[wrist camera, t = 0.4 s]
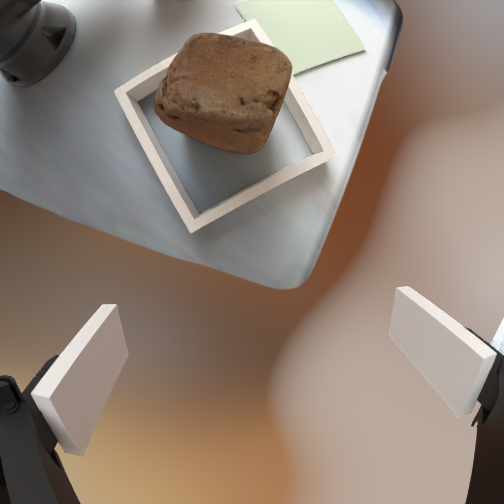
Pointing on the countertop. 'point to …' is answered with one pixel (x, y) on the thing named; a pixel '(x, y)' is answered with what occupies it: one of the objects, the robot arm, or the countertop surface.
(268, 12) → the mat
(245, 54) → the brown rough stone
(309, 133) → the holder
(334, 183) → the countertop surface
